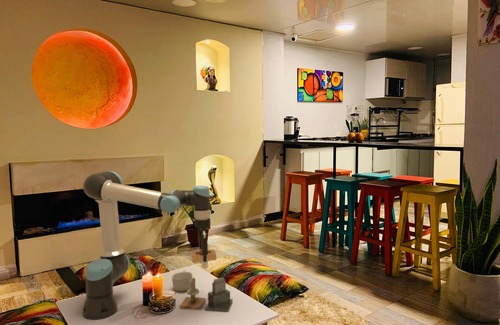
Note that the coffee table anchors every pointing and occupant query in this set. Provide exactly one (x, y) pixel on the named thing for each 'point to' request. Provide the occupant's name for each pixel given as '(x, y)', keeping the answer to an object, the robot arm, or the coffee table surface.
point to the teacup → (181, 281)
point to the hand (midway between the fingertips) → (203, 265)
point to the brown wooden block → (198, 258)
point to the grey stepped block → (219, 297)
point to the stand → (192, 298)
